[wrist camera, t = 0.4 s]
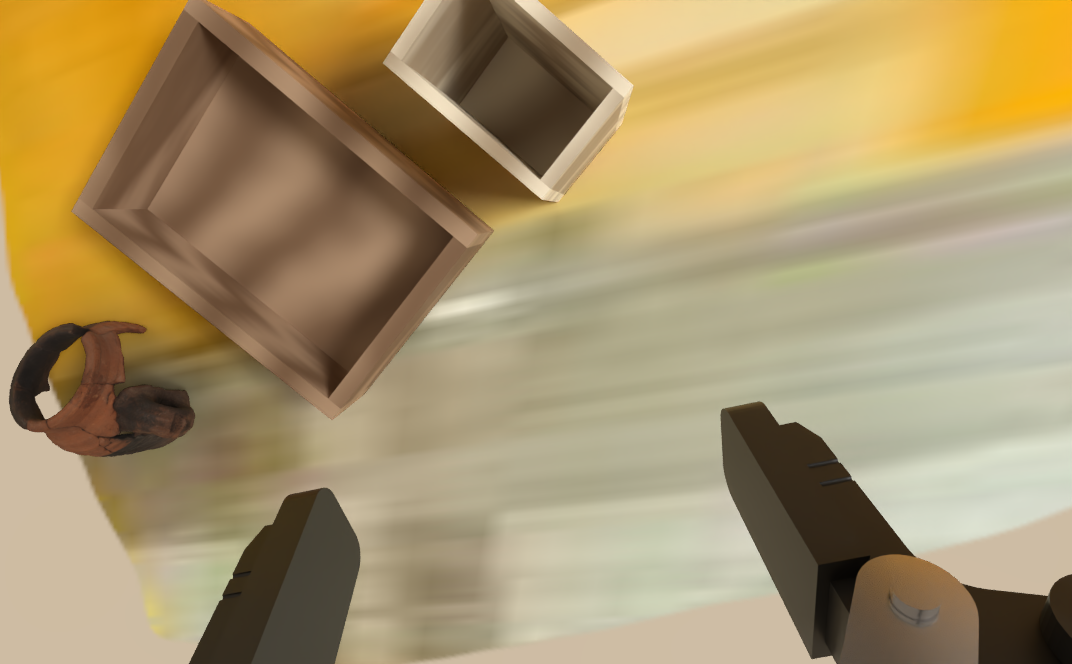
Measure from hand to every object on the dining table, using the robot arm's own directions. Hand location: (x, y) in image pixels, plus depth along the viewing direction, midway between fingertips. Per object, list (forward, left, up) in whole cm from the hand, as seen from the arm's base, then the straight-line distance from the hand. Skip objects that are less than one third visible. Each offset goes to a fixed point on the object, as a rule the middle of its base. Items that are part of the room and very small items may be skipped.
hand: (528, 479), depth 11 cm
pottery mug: (+15, -28, -26) cm, 41 cm away
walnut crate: (0, -18, -26) cm, 32 cm away
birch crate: (-10, -5, -26) cm, 28 cm away
